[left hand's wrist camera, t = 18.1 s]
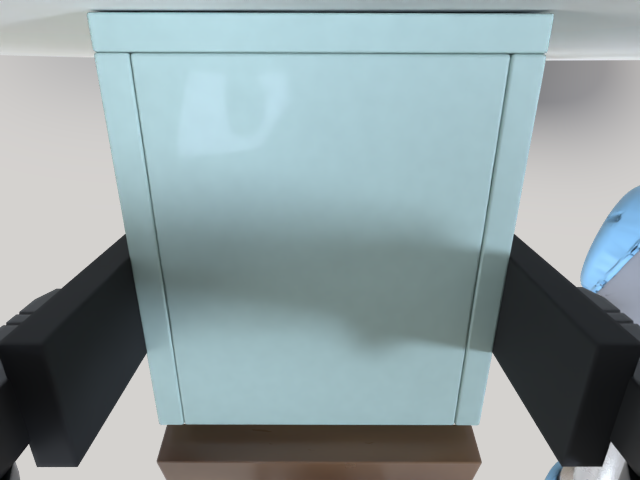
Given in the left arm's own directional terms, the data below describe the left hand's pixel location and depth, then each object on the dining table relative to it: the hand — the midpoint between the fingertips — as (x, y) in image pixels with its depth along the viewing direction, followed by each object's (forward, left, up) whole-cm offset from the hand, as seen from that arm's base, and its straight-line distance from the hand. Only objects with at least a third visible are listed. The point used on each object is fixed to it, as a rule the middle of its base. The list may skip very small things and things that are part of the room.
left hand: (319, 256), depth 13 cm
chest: (+4, -4, -6) cm, 8 cm away
